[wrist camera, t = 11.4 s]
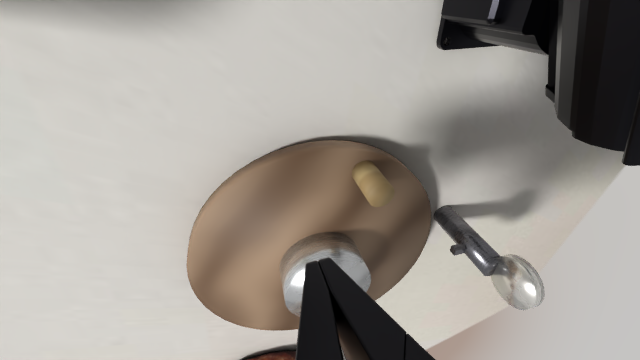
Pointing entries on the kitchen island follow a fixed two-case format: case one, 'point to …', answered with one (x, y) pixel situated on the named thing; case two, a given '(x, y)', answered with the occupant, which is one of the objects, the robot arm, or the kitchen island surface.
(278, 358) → the bread
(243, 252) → the disc
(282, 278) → the cover
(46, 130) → the kitchen island surface
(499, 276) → the ice cream scoop
